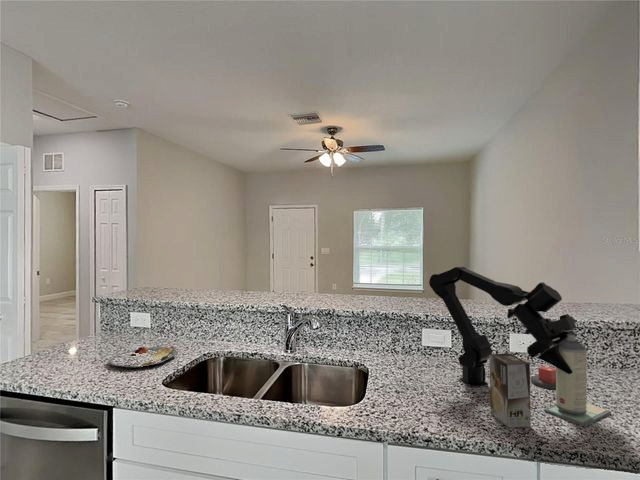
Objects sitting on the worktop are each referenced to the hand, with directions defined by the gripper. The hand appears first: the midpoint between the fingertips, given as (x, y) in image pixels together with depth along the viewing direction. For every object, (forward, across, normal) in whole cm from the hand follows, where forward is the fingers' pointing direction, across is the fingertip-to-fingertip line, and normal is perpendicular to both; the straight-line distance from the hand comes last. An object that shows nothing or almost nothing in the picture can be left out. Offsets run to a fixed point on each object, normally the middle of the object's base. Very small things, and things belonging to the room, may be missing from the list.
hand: (576, 370), depth 100 cm
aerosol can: (+7, 0, +9) cm, 11 cm away
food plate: (-77, -84, +97) cm, 150 cm away
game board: (+8, +3, +9) cm, 13 cm away
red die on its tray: (-2, +19, +20) cm, 27 cm away
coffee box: (+2, -16, +16) cm, 23 cm away
